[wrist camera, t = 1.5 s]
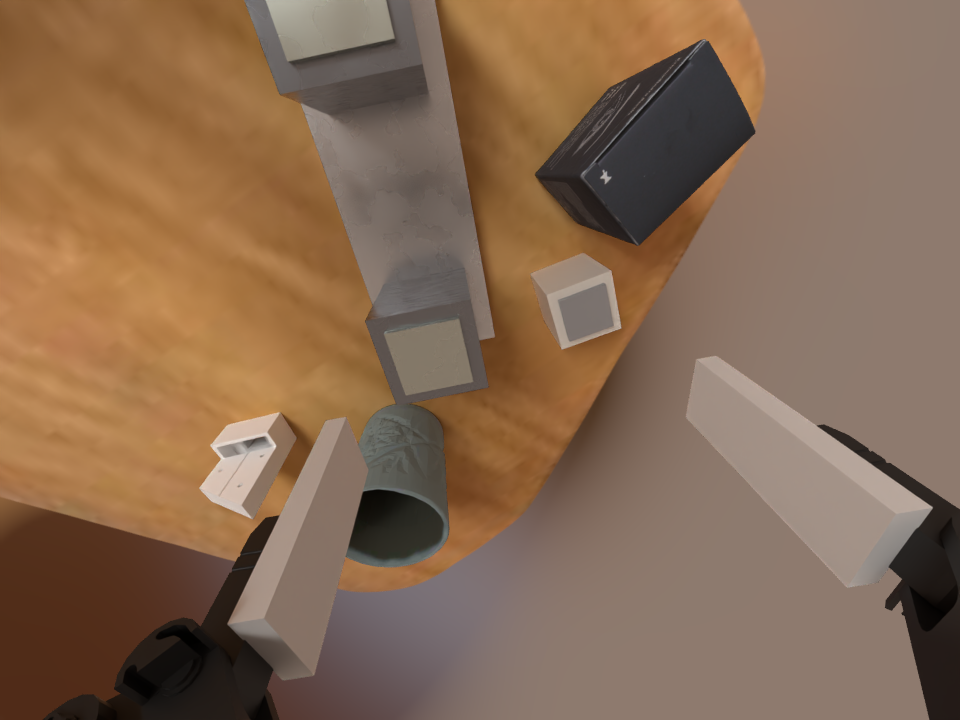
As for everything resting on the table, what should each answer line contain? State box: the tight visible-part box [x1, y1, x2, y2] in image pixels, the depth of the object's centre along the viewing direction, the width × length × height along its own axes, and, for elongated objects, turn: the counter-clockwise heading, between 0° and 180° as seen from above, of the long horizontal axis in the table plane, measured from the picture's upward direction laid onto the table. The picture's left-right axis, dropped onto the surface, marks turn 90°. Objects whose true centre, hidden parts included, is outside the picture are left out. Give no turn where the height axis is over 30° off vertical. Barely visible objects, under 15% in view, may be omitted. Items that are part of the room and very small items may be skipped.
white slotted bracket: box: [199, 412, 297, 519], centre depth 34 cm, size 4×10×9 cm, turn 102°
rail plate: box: [244, 0, 495, 406], centre depth 23 cm, size 26×10×9 cm, turn 10°
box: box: [535, 39, 755, 246], centre depth 23 cm, size 8×6×11 cm
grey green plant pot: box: [346, 404, 449, 567], centre depth 34 cm, size 10×10×12 cm
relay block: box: [530, 253, 621, 350], centre depth 30 cm, size 5×5×6 cm
